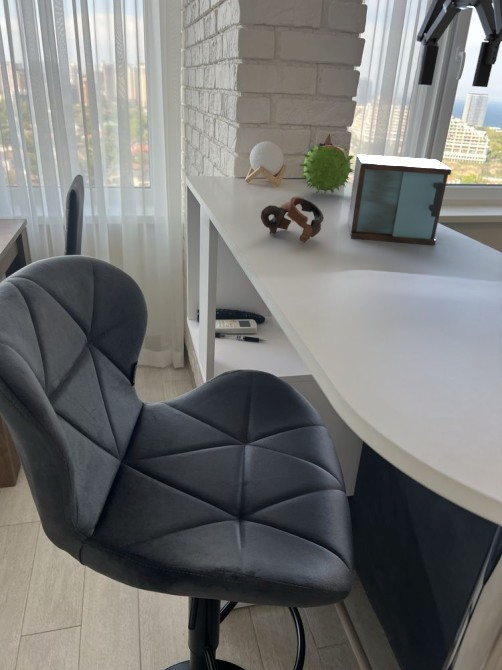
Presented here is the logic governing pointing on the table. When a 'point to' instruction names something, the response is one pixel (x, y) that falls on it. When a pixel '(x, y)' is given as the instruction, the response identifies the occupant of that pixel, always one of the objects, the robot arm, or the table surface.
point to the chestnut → (327, 167)
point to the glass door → (418, 204)
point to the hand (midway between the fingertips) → (450, 86)
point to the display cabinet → (385, 196)
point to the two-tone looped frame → (293, 217)
